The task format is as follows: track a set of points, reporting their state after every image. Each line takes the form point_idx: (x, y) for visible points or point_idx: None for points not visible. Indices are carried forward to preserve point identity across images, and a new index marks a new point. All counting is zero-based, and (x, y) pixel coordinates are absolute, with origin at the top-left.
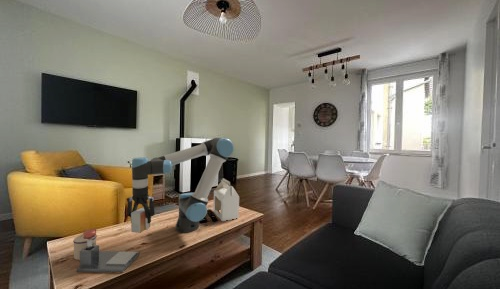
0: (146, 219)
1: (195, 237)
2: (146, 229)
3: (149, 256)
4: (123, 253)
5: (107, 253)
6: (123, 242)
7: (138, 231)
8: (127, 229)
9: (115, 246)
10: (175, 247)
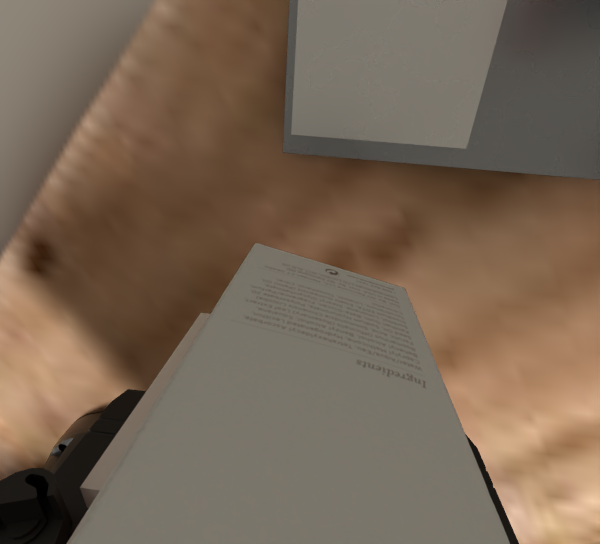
0: (113, 453)
1: (23, 353)
2: (206, 318)
3: (193, 122)
4: (411, 107)
5: (575, 136)
6: (482, 338)
7: (281, 258)
8: (506, 487)
9: (530, 289)
10: (74, 243)
